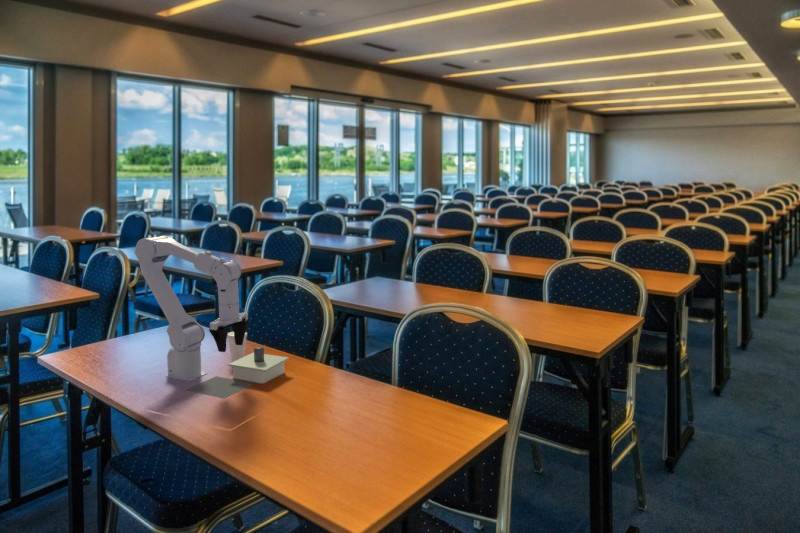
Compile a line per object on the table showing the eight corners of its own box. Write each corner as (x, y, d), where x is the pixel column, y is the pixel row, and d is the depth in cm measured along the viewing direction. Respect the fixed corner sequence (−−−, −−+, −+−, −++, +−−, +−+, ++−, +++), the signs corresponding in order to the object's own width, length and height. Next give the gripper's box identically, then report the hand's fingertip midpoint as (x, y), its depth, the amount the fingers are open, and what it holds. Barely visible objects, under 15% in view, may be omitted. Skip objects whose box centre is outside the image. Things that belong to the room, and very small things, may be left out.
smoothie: (242, 365, 193) (241, 323, 191) (224, 364, 195) (223, 322, 192) (251, 359, 199) (250, 319, 197) (233, 358, 201) (232, 317, 199)
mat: (185, 391, 170) (185, 389, 170) (216, 377, 182) (216, 376, 182) (224, 399, 165) (224, 398, 164) (253, 384, 176) (253, 383, 176)
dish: (232, 379, 181) (232, 365, 180) (255, 368, 190) (255, 355, 190) (262, 385, 176) (262, 370, 175) (284, 374, 186) (284, 360, 185)
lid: (228, 365, 179) (227, 351, 178) (253, 354, 191) (253, 340, 190) (265, 371, 174) (265, 356, 174) (288, 359, 186) (288, 345, 186)
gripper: (222, 309, 167) (225, 356, 169) (255, 299, 180) (257, 343, 182) (203, 307, 169) (205, 353, 171) (236, 297, 183) (238, 340, 185)
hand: (230, 348), depth 177 cm, fingers open, 7 cm apart
